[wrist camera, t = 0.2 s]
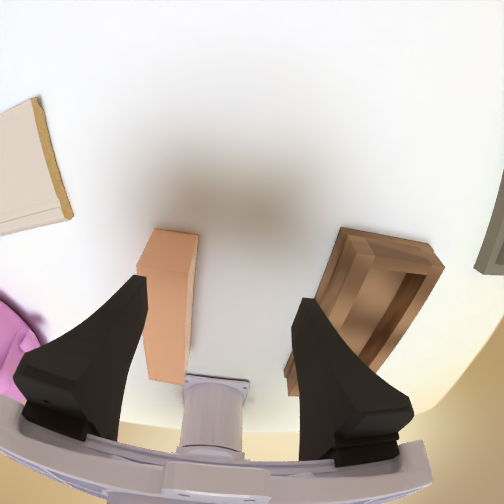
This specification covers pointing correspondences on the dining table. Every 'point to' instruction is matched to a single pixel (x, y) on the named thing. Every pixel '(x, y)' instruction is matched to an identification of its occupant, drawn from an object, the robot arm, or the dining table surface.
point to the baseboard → (29, 172)
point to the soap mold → (493, 240)
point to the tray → (373, 293)
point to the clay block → (168, 303)
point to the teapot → (13, 349)
